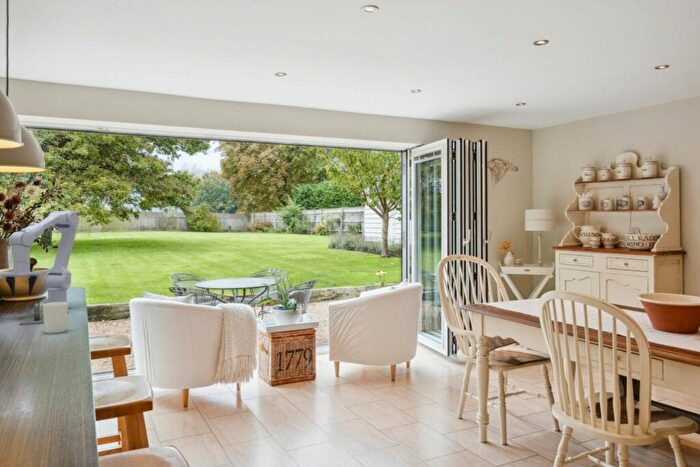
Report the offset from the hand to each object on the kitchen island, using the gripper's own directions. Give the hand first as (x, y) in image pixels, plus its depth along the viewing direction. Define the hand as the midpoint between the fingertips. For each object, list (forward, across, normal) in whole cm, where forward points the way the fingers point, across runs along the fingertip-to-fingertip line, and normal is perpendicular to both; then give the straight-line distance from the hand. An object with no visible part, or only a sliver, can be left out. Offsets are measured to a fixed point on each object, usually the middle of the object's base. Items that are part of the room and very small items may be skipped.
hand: (21, 295), depth 203 cm
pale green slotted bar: (+9, +6, -1) cm, 11 cm away
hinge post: (+9, +6, -9) cm, 15 cm away
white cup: (+10, +16, -30) cm, 35 cm away
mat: (+9, +8, -3) cm, 13 cm away
